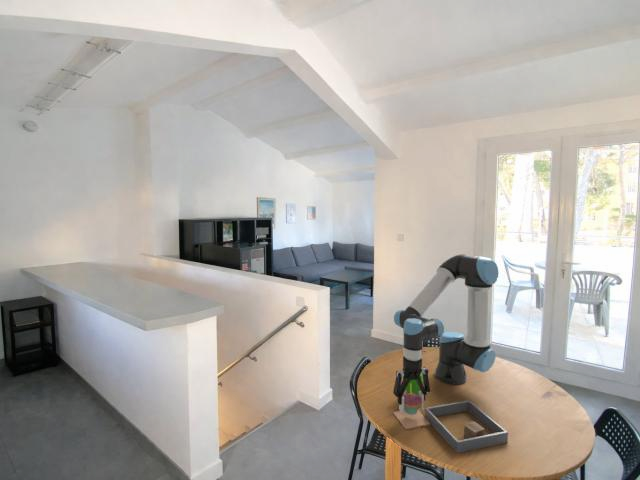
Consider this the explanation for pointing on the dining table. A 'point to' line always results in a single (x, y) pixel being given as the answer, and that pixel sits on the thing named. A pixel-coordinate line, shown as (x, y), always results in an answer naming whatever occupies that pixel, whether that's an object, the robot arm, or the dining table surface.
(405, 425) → the plate
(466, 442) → the corral
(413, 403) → the cupcake
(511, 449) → the dining table surface
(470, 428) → the tan cube
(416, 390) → the cup
